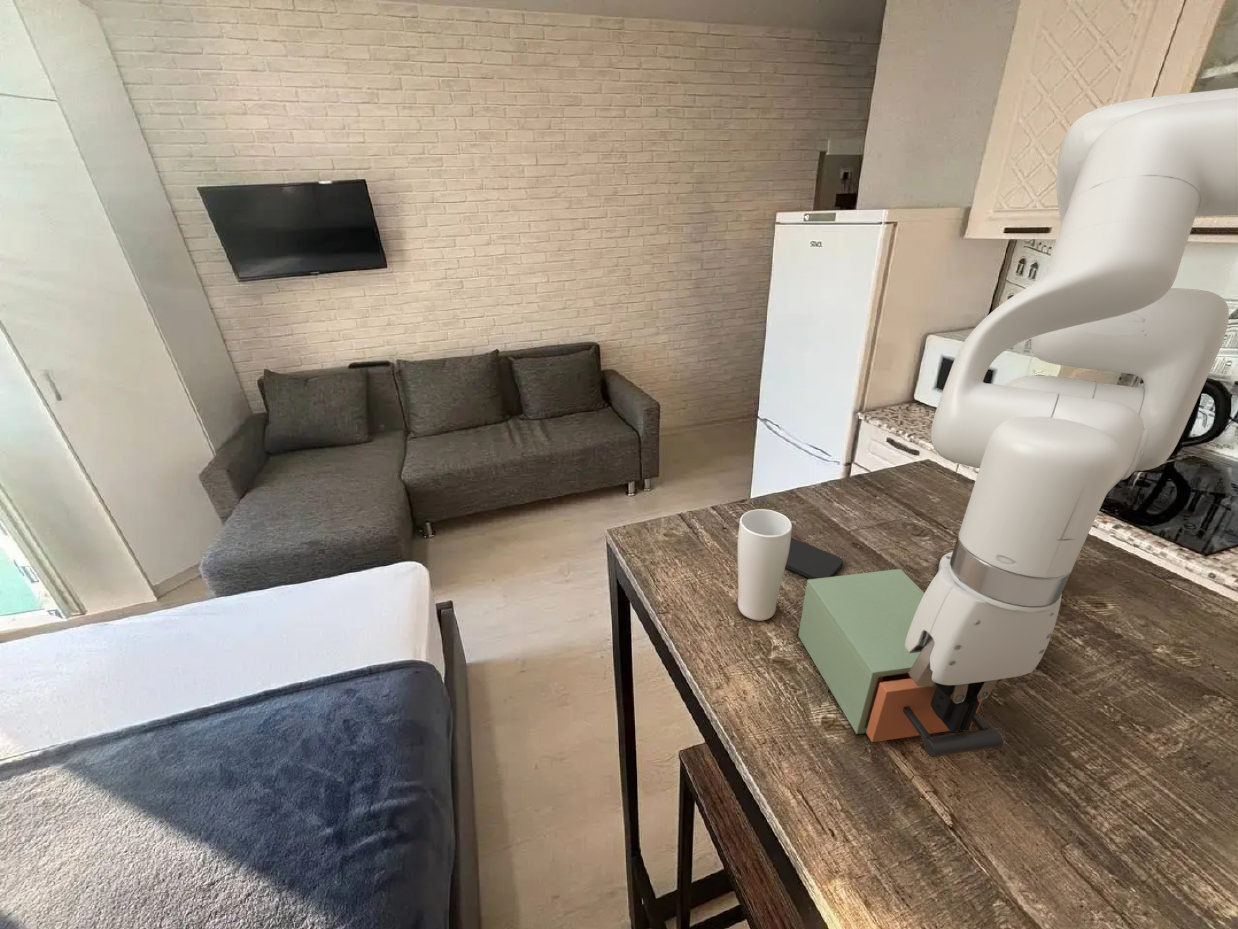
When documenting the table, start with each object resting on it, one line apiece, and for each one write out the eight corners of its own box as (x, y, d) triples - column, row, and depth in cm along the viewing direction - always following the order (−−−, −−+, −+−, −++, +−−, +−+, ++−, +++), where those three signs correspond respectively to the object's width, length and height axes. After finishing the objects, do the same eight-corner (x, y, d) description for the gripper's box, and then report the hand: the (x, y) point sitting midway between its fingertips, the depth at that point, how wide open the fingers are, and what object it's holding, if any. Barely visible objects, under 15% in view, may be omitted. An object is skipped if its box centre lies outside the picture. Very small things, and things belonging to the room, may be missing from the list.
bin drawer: (1008, 773, 50) (1034, 721, 47) (900, 790, 49) (919, 738, 46) (895, 635, 67) (908, 588, 63) (812, 646, 66) (821, 599, 62)
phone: (761, 525, 91) (845, 559, 81) (761, 529, 91) (845, 563, 81) (739, 543, 86) (825, 581, 76) (738, 547, 86) (824, 586, 77)
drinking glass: (782, 629, 70) (795, 539, 63) (732, 623, 71) (739, 534, 64) (778, 596, 76) (790, 510, 69) (732, 591, 77) (739, 506, 70)
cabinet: (962, 718, 57) (987, 657, 53) (856, 734, 56) (872, 672, 51) (885, 624, 70) (900, 568, 65) (797, 635, 69) (807, 579, 64)
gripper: (1048, 533, 46) (988, 677, 54) (892, 549, 44) (855, 695, 52) (1134, 587, 39) (1051, 743, 47) (954, 609, 38) (900, 766, 46)
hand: (948, 718), depth 50 cm, fingers closed
